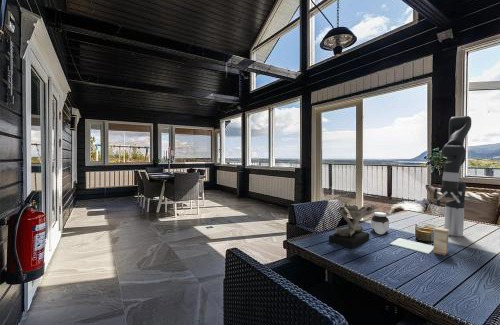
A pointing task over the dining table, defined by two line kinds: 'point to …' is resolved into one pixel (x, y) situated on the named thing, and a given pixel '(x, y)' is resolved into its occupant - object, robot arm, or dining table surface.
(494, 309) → the dining table surface
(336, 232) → the coral
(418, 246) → the sage board
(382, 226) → the spread jar
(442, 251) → the maple block
